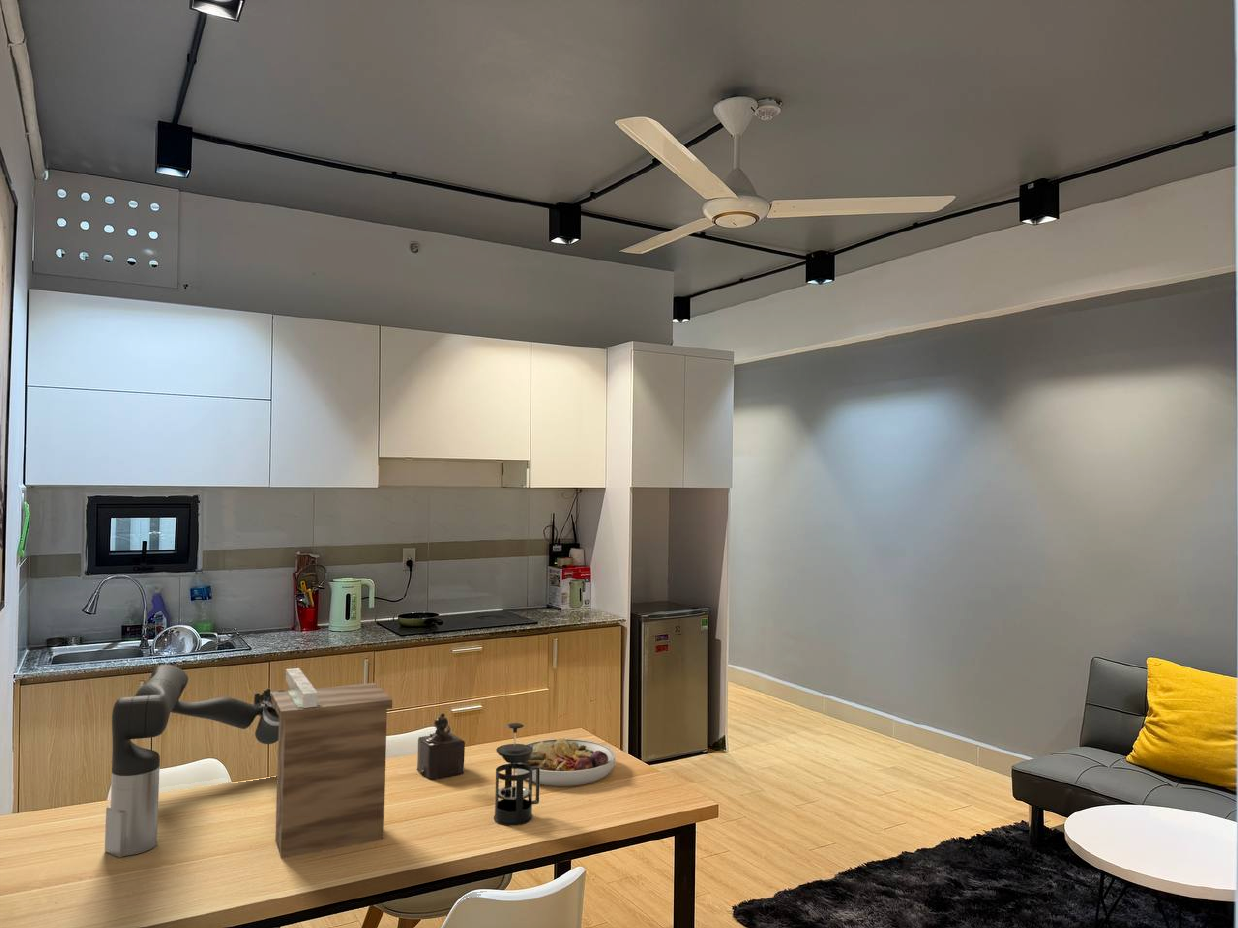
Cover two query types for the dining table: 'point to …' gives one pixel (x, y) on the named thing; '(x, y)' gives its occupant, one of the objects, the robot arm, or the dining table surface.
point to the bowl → (569, 761)
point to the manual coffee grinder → (440, 752)
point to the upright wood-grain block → (330, 768)
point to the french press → (514, 802)
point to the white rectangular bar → (301, 688)
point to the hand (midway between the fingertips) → (286, 690)
